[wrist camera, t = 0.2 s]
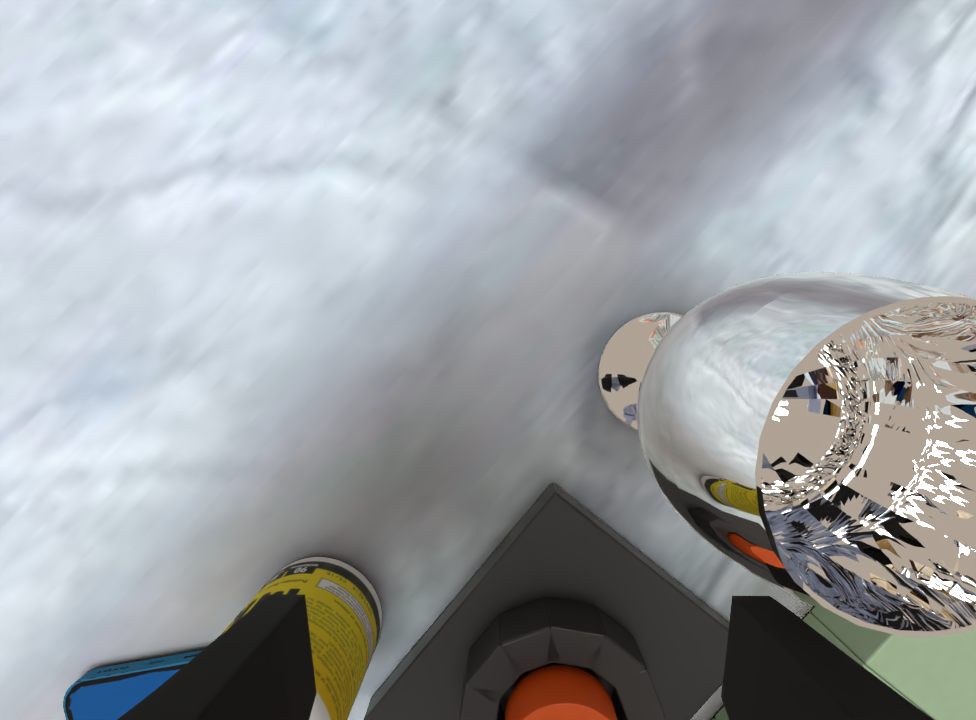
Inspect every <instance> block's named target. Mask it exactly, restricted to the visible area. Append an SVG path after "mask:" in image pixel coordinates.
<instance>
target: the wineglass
mask: <svg viewBox="0 0 976 720" xmlns="http://www.w3.org/2000/svg"><path fill="white" fill-rule="evenodd" d="M598 383H599V387H600V391H601V395H602V397H603V399H604V402H605V404H606V406H607V407H608V409H609V410H610V411H611V413H612V414H613V415H614V416H615V417H616V418H617V419H618V420H619V421H620V422H621V423H623V424H624V425H626V426H627V427H629V428H631V429H633V430H635V431H638V433H639V439H640V444H641V449H642V452H643V455H644V458H645V460H646V463H647V466H648V468H649V470H650V472H651V474H652V476H653V478H654V480H655V482H656V484H657V486H658V488H659V489H660V491H661V493H662V494H663V496H664V497H665V499H666V500H667V501H668V503H669V504H670V506H671V507H672V508H673V509H674V511H675V512H676V513H677V514H678V515H679V516H680V517H681V518H682V519H683V520H684V521H685V522H686V523H687V524H688V525H689V526H690V527H691V528H692V529H693V530H694V531H695V532H696V533H697V534H699V535H700V536H701V537H702V538H703V539H705V540H706V541H707V542H708V543H710V544H711V545H712V546H713V547H714V548H716V549H717V550H718V551H719V552H721V553H722V554H723V555H725V556H726V557H727V558H729V559H730V560H732V561H733V562H735V563H736V564H737V565H739V566H741V567H742V568H744V569H746V570H747V571H749V572H751V573H752V574H754V575H756V576H758V577H760V578H761V579H763V580H765V581H767V582H769V583H771V584H772V585H774V586H776V587H778V588H780V589H782V590H783V591H785V592H787V593H789V594H791V595H793V596H794V597H796V598H798V599H800V600H802V601H804V602H806V603H809V604H811V605H813V606H815V607H818V608H820V609H822V610H824V611H827V612H829V613H831V614H833V615H836V616H838V617H840V618H842V619H845V620H847V621H849V622H851V623H854V624H856V625H858V626H862V627H866V628H870V629H874V630H877V631H881V632H885V633H889V634H893V635H897V636H907V637H940V636H947V635H953V634H960V633H965V632H968V631H972V630H975V629H976V299H975V298H972V297H968V296H965V295H961V294H958V293H954V292H951V291H947V290H944V289H940V288H935V287H930V286H925V285H920V284H915V283H910V282H905V281H900V280H895V279H890V278H885V277H878V276H871V275H864V274H852V273H835V272H799V273H787V274H777V275H772V276H766V277H762V278H757V279H753V280H750V281H747V282H743V283H740V284H737V285H735V286H732V287H730V288H727V289H725V290H723V291H721V292H719V293H717V294H715V295H713V296H711V297H709V298H708V299H706V300H704V301H703V302H701V303H699V304H698V305H696V306H695V307H693V308H691V309H690V310H689V311H688V312H687V313H686V314H685V315H680V314H677V313H672V312H653V313H649V314H645V315H641V316H638V317H636V318H634V319H632V320H630V321H628V322H626V323H625V324H624V325H623V326H622V327H620V328H619V329H618V330H617V331H616V332H615V333H614V334H613V335H612V337H611V338H610V340H609V341H608V342H607V344H606V346H605V348H604V350H603V352H602V355H601V358H600V363H599V368H598Z"/></svg>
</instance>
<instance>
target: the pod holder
mask: <svg viewBox="0 0 976 720" xmlns="http://www.w3.org/2000/svg"><path fill="white" fill-rule="evenodd" d="M811 612H812V614H811V613H809V614H808V615H807V616H806V617H805V618H804V619H803V621H804V622H805V623H807V624H808V625H809V626H811V627H812V628H813V629H814V630H816V631H817V632H818V633H820V634H821V635H822V636H824V637H825V638H826V639H827V640H829V641H830V642H831V643H833V644H834V645H835V646H836V647H838V648H839V649H840V650H842V651H843V652H844V653H846V654H847V655H848V656H849V657H851V658H852V659H853V660H855V661H856V662H857V663H859V664H860V665H861V666H863V667H864V668H865V669H866V670H868V671H869V672H870V673H872V674H873V675H874V676H876V677H877V678H878V679H880V680H881V681H882V682H884V683H885V684H886V685H888V686H889V687H890V688H892V689H893V690H894V691H896V692H897V693H898V694H900V695H901V696H902V697H904V698H905V699H906V700H908V701H909V702H910V703H912V704H913V705H915V706H916V707H917V708H919V709H920V710H921V711H923V712H924V713H925V714H927V715H928V716H930V717H931V718H932V719H934V720H976V629H975V630H972V631H968V632H965V633H960V634H953V635H947V636H940V637H907V636H897V635H893V634H889V633H885V632H881V631H877V630H874V629H870V628H866V627H862V626H858V625H856V624H854V623H851V622H849V621H847V620H845V619H842V618H840V617H838V616H836V615H833V614H831V613H829V612H827V611H824V610H822V609H820V608H818V607H814V608H813V610H812V611H811ZM715 718H716V719H715ZM715 718H713V719H712V720H729V718H728V715H727V712H726V709H725V706H724V707H723V708H722V709H721V710H720V711H719V712H718V713H717V714H716V716H715Z"/></svg>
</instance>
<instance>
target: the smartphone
mask: <svg viewBox="0 0 976 720" xmlns="http://www.w3.org/2000/svg"><path fill="white" fill-rule="evenodd" d="M202 651H203V650H199V651H193V652H188V653H182V654H176V655H171V656H165V657H159V658H153V659H148V660H142V661H136V662H131V663H125V664H119V665H113V666H108V667H102V668H97V669H93V670H91V671H89V672H87V673H86V674H85V675H84V676H82V677H81V678H80V679H79V680H77V681H76V682H75V683H74V684H73V685H71V687H70V688H69V689H68V690H67V692H66V694H65V696H64V701H63V708H64V712H65V716H66V720H117V719H119V718H120V717H121V716H122V715H124V714H125V713H126V712H128V711H129V710H130V709H131V708H133V707H134V706H135V705H137V704H138V703H139V702H140V701H142V700H143V699H144V698H146V697H147V696H148V695H150V694H151V693H152V692H153V691H155V690H156V689H157V688H158V687H159V686H161V685H162V684H163V683H164V682H165V681H167V680H168V679H169V678H170V677H172V676H173V675H174V674H175V673H176V672H178V671H179V670H180V669H181V668H182V667H184V666H185V665H186V664H187V663H188V662H190V661H191V660H192V659H193V658H194V657H196V656H197V655H198V654H199V653H200V652H202Z"/></svg>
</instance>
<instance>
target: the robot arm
mask: <svg viewBox="0 0 976 720" xmlns="http://www.w3.org/2000/svg"><path fill="white" fill-rule="evenodd" d="M316 693H317V692H316V683H315V675H314V666H313V658H312V650H311V641H310V633H309V624H308V616H307V607H306V599H305V595H294V594H270V595H269V596H267V597H266V598H265V599H264V600H262V601H261V602H260V603H259V604H257V605H256V606H255V607H254V608H252V609H251V610H250V611H249V612H248V613H246V614H245V615H244V616H243V617H242V618H241V619H239V620H238V621H237V622H236V623H235V624H233V625H232V626H231V627H230V628H229V629H228V630H226V631H225V632H224V633H223V634H222V635H221V636H219V637H218V638H217V639H216V640H215V641H213V642H212V643H211V644H210V645H209V646H208V647H206V648H205V649H204V650H203V651H202V652H200V653H199V654H198V655H197V656H196V657H194V658H193V659H192V660H191V661H190V662H188V663H187V664H186V665H185V666H184V667H182V668H181V669H180V670H179V671H178V672H176V673H175V674H174V675H173V676H172V677H170V678H169V679H168V680H167V681H165V682H164V683H163V684H162V685H161V686H159V687H158V688H157V689H156V690H155V691H153V692H152V693H151V694H150V695H148V696H147V697H146V698H144V699H143V700H142V701H140V702H139V703H138V704H137V705H135V706H134V707H133V708H131V709H130V710H129V711H128V712H126V713H125V714H124V715H122V716H121V717H120V718H119V719H117V720H309V718H310V715H311V711H312V707H313V704H314V700H315V697H316ZM721 697H722V700H723V703H724V706H725V709H726V712H727V715H728V718H729V720H934V719H932V718H931V717H930V716H928V715H927V714H925V713H924V712H923V711H921V710H920V709H919V708H917V707H916V706H915V705H913V704H912V703H910V702H909V701H908V700H906V699H905V698H904V697H902V696H901V695H900V694H898V693H897V692H896V691H894V690H893V689H892V688H890V687H889V686H888V685H886V684H885V683H884V682H882V681H881V680H880V679H878V678H877V677H876V676H874V675H873V674H872V673H870V672H869V671H868V670H866V669H865V668H864V667H863V666H861V665H860V664H859V663H857V662H856V661H855V660H853V659H852V658H851V657H849V656H848V655H847V654H846V653H844V652H843V651H842V650H840V649H839V648H838V647H836V646H835V645H834V644H833V643H831V642H830V641H829V640H827V639H826V638H825V637H824V636H822V635H821V634H820V633H818V632H817V631H816V630H814V629H813V628H812V627H811V626H809V625H808V624H807V623H805V622H804V621H803V620H801V619H800V618H799V617H798V616H796V615H795V614H794V613H792V612H791V611H790V610H788V609H787V608H786V607H784V606H783V605H781V604H780V603H779V602H777V601H776V600H774V599H773V598H772V597H770V596H732V605H731V614H730V623H729V632H728V641H727V650H726V659H725V668H724V677H723V686H722V695H721Z"/></svg>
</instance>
